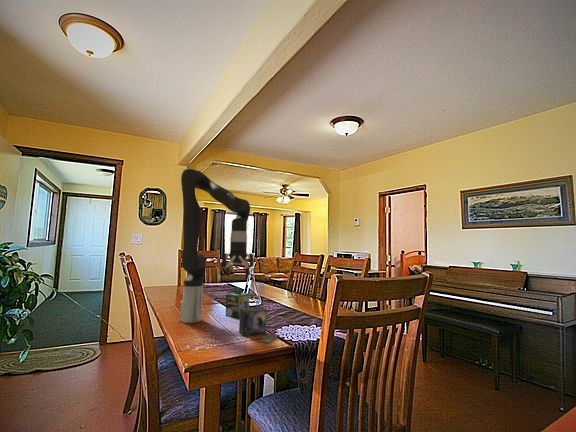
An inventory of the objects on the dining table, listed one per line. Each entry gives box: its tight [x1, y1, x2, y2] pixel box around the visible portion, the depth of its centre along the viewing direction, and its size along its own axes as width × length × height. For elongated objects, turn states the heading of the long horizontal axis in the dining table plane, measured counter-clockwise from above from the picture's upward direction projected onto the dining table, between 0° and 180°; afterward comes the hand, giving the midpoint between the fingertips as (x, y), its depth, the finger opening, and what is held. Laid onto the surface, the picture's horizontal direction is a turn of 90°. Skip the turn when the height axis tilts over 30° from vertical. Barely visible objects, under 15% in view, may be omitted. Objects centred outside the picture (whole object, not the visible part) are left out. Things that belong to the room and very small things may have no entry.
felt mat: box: [259, 332, 280, 344], centre depth 128 cm, size 4×11×1 cm, turn 161°
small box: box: [238, 306, 268, 337], centre depth 134 cm, size 11×6×10 cm, turn 117°
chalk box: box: [225, 287, 250, 319], centre depth 164 cm, size 9×9×15 cm
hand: (237, 276), depth 142 cm, fingers open, 8 cm apart
